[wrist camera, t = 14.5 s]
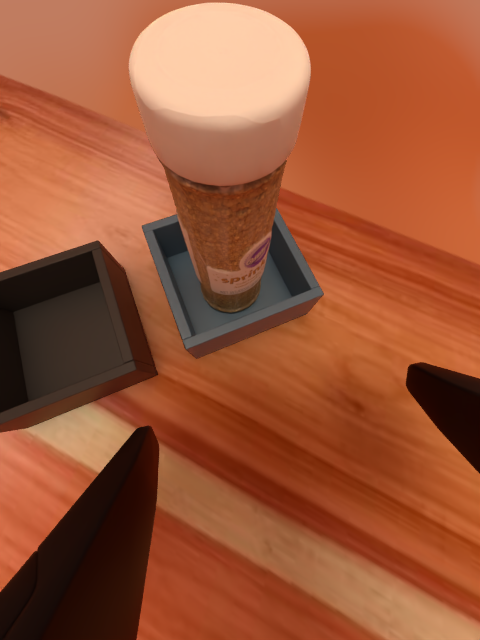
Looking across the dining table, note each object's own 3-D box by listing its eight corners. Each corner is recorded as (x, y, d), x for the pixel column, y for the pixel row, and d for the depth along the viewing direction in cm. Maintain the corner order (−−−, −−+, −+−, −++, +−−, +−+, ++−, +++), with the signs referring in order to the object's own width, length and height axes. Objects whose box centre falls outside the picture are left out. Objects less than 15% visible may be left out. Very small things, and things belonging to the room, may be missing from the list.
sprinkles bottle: (243, 324, 18) (261, 146, 5) (189, 296, 18) (80, 70, 6) (271, 274, 19) (344, 25, 6) (219, 249, 20) (187, -28, 7)
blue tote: (307, 313, 18) (324, 294, 15) (196, 359, 17) (185, 349, 14) (259, 221, 21) (264, 185, 17) (158, 256, 20) (141, 225, 16)
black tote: (157, 374, 17) (136, 369, 13) (26, 428, 16) (-35, 438, 12) (124, 268, 19) (98, 239, 16) (7, 309, 18) (-50, 288, 15)
